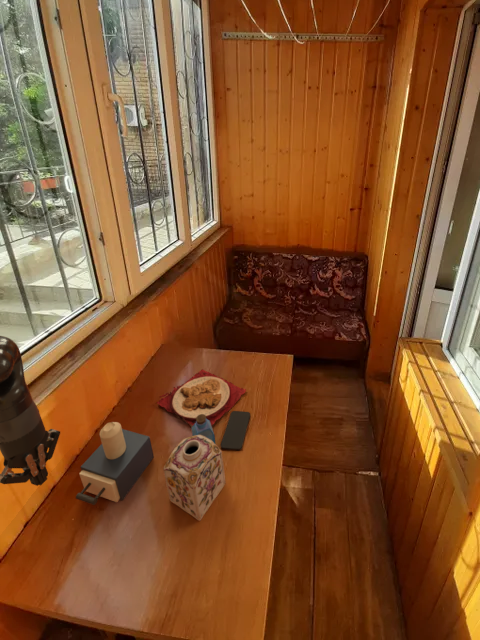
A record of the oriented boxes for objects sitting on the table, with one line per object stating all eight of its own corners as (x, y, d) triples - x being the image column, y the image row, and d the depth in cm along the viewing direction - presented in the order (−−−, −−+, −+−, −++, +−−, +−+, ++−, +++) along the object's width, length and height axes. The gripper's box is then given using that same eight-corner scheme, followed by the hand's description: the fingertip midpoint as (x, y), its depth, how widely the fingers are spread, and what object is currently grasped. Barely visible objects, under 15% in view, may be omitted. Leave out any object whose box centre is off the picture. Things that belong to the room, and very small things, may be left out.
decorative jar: (197, 465, 98) (191, 422, 92) (227, 483, 93) (222, 438, 87) (168, 502, 88) (158, 456, 82) (199, 523, 83) (191, 477, 77)
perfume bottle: (193, 441, 106) (189, 414, 102) (211, 434, 109) (208, 407, 104) (197, 456, 101) (193, 429, 97) (216, 448, 103) (212, 421, 99)
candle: (130, 448, 94) (123, 423, 90) (112, 463, 90) (105, 437, 86) (119, 439, 97) (113, 415, 93) (101, 453, 92) (94, 428, 89)
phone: (219, 447, 103) (231, 410, 117) (219, 449, 103) (231, 412, 117) (241, 449, 102) (250, 412, 116) (241, 451, 102) (251, 413, 116)
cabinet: (122, 500, 89) (116, 478, 85) (87, 488, 92) (80, 466, 89) (154, 457, 101) (149, 436, 98) (122, 447, 104) (116, 427, 101)
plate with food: (204, 436, 108) (203, 429, 107) (156, 404, 120) (155, 398, 119) (247, 393, 127) (247, 386, 126) (202, 369, 139) (201, 363, 138)
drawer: (105, 518, 83) (99, 500, 81) (71, 506, 86) (65, 488, 84) (147, 461, 99) (143, 444, 96) (117, 452, 101) (113, 435, 99)
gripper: (36, 398, 72) (55, 451, 78) (-33, 448, 60) (-3, 507, 66) (61, 404, 70) (79, 459, 76) (-5, 458, 58) (23, 518, 64)
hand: (41, 481), depth 71 cm, fingers closed
